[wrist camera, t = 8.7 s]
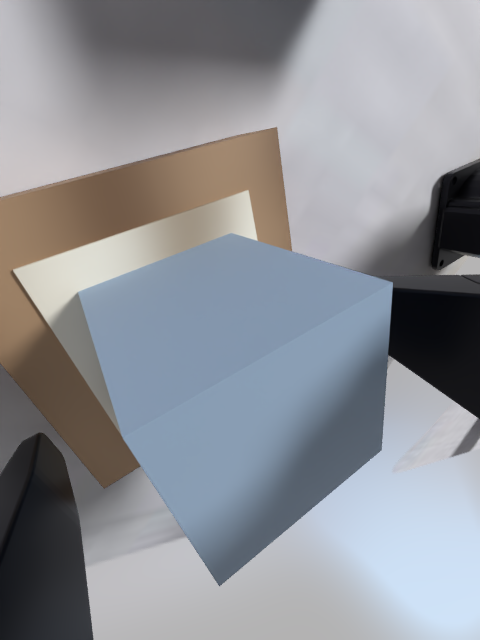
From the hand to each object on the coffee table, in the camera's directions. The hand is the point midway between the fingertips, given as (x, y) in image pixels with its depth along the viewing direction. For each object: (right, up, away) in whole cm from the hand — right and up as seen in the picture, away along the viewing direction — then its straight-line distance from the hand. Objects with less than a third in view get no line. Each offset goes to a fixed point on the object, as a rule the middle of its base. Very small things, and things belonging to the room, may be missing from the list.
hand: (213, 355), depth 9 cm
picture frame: (-2, +2, +4) cm, 5 cm away
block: (-1, +1, +2) cm, 2 cm away
